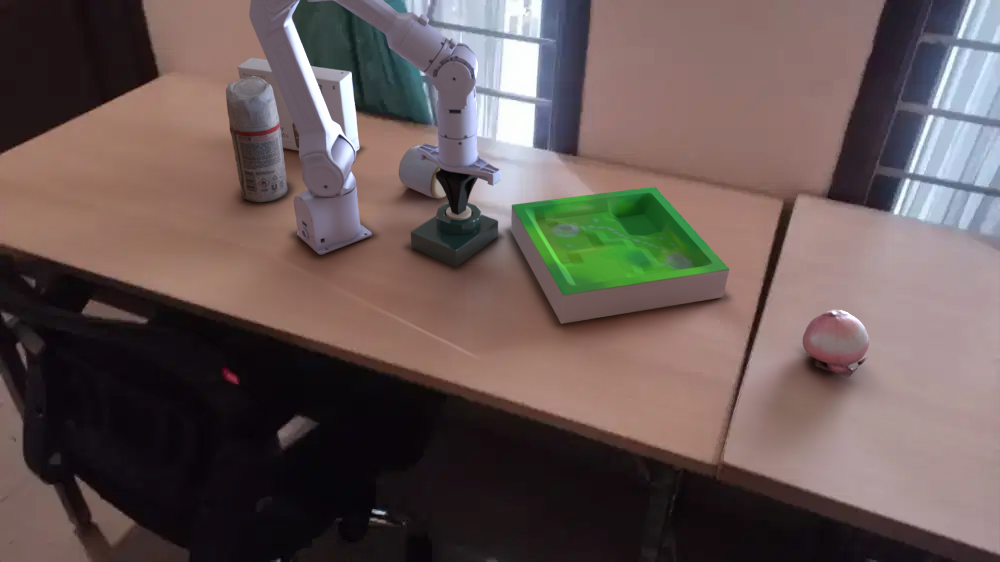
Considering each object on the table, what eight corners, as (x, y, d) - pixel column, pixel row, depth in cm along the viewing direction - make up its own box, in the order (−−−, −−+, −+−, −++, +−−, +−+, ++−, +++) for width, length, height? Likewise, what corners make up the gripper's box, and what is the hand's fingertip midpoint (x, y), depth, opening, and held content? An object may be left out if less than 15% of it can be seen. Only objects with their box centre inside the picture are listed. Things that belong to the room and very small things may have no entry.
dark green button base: (456, 267, 118) (455, 239, 115) (411, 247, 122) (409, 220, 119) (498, 236, 125) (498, 209, 122) (454, 219, 129) (454, 192, 126)
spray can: (297, 182, 139) (280, 74, 127) (281, 205, 132) (263, 93, 121) (251, 179, 139) (230, 72, 128) (234, 202, 133) (210, 91, 121)
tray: (561, 323, 107) (563, 294, 104) (511, 231, 126) (511, 204, 124) (723, 297, 113) (729, 268, 110) (651, 212, 132) (655, 186, 129)
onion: (847, 341, 105) (863, 299, 101) (871, 380, 99) (889, 337, 94) (789, 342, 105) (802, 299, 100) (810, 381, 98) (825, 338, 94)
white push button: (461, 232, 120) (460, 220, 119) (441, 224, 122) (440, 212, 121) (476, 221, 123) (476, 209, 122) (456, 213, 125) (456, 202, 123)
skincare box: (250, 145, 151) (235, 65, 142) (265, 133, 155) (251, 56, 146) (348, 160, 146) (339, 80, 137) (361, 148, 150) (353, 69, 141)
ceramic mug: (433, 207, 132) (432, 166, 128) (398, 192, 136) (396, 152, 132) (472, 185, 139) (472, 146, 135) (438, 171, 143) (437, 133, 139)
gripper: (513, 134, 113) (511, 215, 120) (436, 110, 119) (439, 187, 127) (484, 151, 108) (484, 234, 116) (406, 125, 115) (411, 205, 123)
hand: (458, 211), depth 121 cm, fingers closed, pressing on white push button
